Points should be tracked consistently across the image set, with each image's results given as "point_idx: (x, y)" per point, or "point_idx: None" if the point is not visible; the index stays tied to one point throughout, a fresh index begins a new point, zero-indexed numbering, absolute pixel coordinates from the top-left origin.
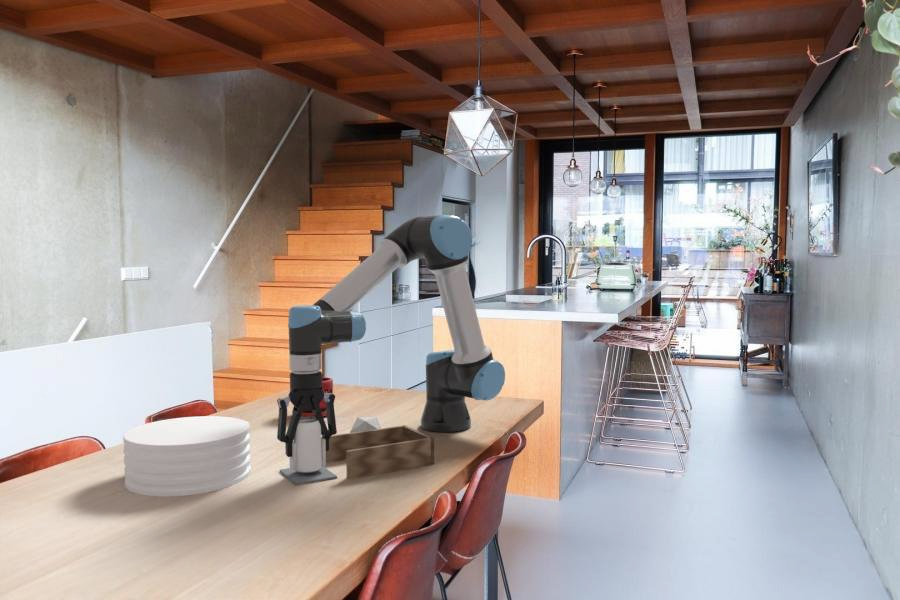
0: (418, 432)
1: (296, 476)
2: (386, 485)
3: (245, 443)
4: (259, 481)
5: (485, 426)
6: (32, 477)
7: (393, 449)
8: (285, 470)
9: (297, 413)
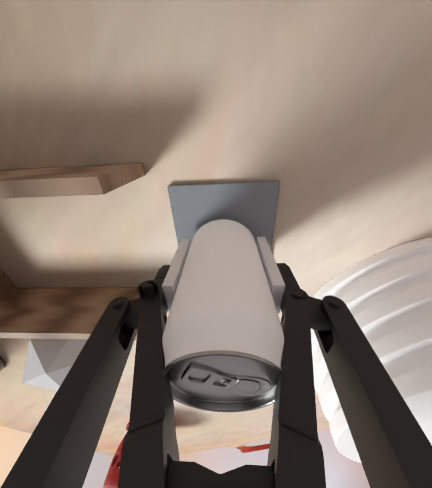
0: None
1: (255, 230)
2: (24, 20)
3: (389, 346)
4: (327, 248)
5: None
6: None
7: None
8: None
9: (318, 455)
